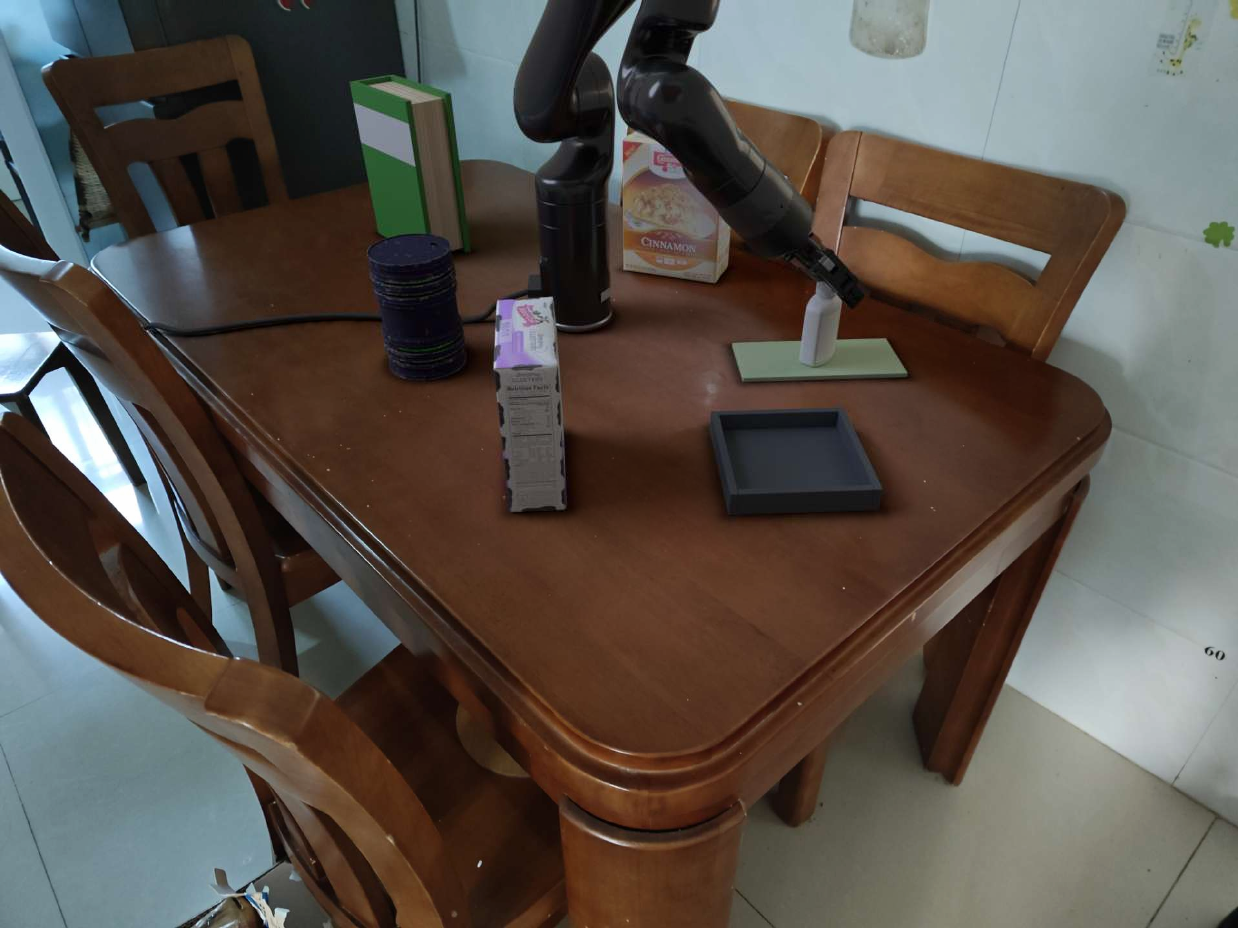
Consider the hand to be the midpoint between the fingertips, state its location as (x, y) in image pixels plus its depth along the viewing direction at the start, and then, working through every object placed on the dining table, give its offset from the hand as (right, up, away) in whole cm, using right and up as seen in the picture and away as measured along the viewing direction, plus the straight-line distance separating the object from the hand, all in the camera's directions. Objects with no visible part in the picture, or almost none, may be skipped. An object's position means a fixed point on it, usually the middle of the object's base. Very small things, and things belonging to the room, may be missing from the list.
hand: (836, 287), depth 98 cm
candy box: (-34, -22, -12) cm, 42 cm away
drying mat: (-1, -8, +5) cm, 10 cm away
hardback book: (-59, +16, +40) cm, 73 cm away
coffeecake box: (-17, +9, +29) cm, 35 cm away
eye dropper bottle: (-1, -8, +5) cm, 9 cm away
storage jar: (-50, -8, +7) cm, 51 cm away
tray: (-8, -21, -13) cm, 26 cm away
